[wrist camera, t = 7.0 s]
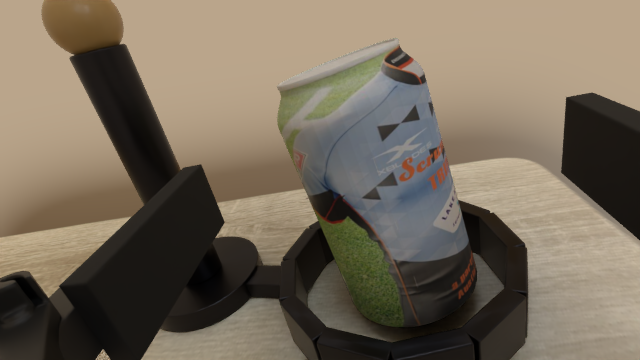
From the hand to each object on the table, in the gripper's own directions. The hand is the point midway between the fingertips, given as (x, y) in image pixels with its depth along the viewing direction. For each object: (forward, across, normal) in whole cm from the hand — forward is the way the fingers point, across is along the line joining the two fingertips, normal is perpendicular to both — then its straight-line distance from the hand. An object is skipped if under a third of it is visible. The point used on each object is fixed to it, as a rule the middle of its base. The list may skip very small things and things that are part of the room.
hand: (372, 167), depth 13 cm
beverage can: (+2, 0, -8) cm, 8 cm away
